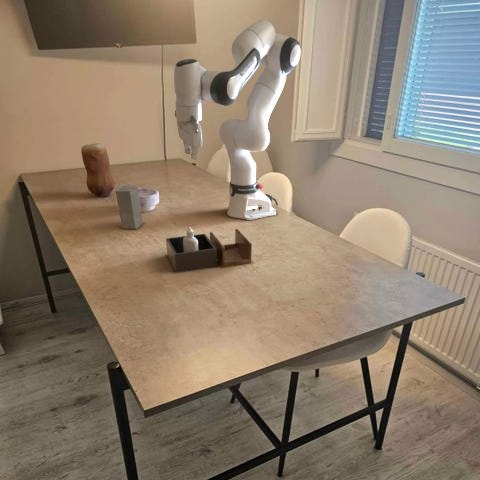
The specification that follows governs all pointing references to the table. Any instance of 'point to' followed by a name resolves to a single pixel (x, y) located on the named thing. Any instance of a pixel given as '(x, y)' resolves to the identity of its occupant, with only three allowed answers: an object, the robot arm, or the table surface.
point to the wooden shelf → (240, 244)
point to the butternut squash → (97, 170)
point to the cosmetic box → (129, 207)
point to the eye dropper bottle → (190, 241)
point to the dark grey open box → (191, 254)
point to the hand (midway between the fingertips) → (191, 156)
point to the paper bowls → (148, 199)
